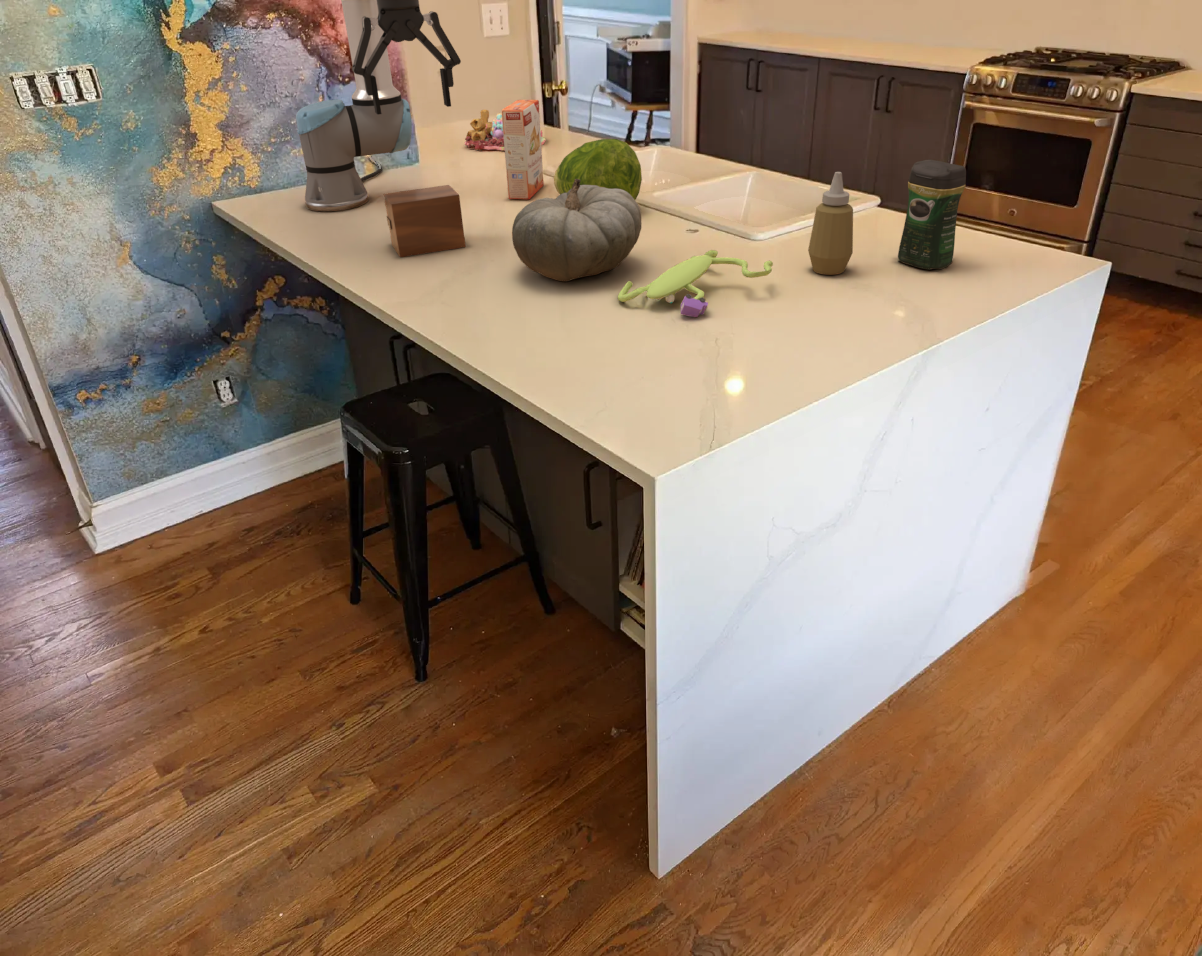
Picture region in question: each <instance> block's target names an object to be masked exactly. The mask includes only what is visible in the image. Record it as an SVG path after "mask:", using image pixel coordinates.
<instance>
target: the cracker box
mask: <svg viewBox="0 0 1202 956" xmlns="http://www.w3.org/2000/svg"><path fill="white" fill-rule="evenodd" d="M501 113H502V124H503V136H504V148H505V150H504V159H505V170H506V171H505V172H506V183H507V196H508V200H526V201H527V200H531V198H533V197H534V195H536V194H537V193H538V192H539V191H540V190H541V188H543V187H544V182H545V181H544V168H543V152H542V150H543V149H542V145H541V115H540V114H541V113H540V101H539V99H517V100H515V101H514V102H511V104H509V105H507V106H505V107H504V108H503V109H501Z"/></svg>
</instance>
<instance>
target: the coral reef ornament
mask: <svg viewBox="0 0 1202 956" xmlns="http://www.w3.org/2000/svg"><path fill="white" fill-rule="evenodd" d="M479 112H480V113H479V114H480V118H473V119H472V120H471V121H470V122H469V125H470V127H471V128H472V129H470V130H468V131H467V133H466V137H465V138H464V140H465V141H464V146H467V148H470V147H474V150H489V151H490V150H498V151H505V148H504V136H503V124H502V112H498V113H497V114H496V116H495V118H493V119H492V121H489V118H490V111H489V110H488V109H481V110H480V111H479ZM540 132H541V146H543V145H545V143H546V138H545V137H544V136H543V129H540Z"/></svg>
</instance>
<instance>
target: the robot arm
mask: <svg viewBox="0 0 1202 956" xmlns="http://www.w3.org/2000/svg"><path fill="white" fill-rule="evenodd" d="M340 1H341V7H342V12H343V18H344V24H345V29H346V35H347V41H348V47H349V53H350V58H351V64H352V68H351V70H352V72H353V75H354V81H355V82H354V83H355V86H356V89H355V90H354V92H353V93H352V94H351V103H352V104H349V105H345V103H344V101H343V100H342V99H337V98H336V99H327V100H322V101H318V102H314V103H311V104H308V105H306V106H303V107H301V108H299V110H298V111H297V112H296V114H295V121H296V127H297V130H296V132H297V135H298V137H299V140H300V146H301V151H302V156H303V160H304V165H305V170H306V183H305V193H304V202H305V207H306V208H307V209H308V210H310V211H313V212H338V211H339V212H341V211H345V210H350V209H351V210H352V209H354V208H358V207H361V206H364V205H366V204H367V203H368V202H369V200H370V199H369V192H368V190H367V189H366V187H365V185H364V182H365V181H367V180H369V179H371V178H374V177H376V176H378V175H379V174H381V173H382V171H383V167H382V166H381V169H378V168H379V166H377V170H375V171H374V172H371V173H369V174H366V175H364V176H362V177H361V176H360V175H359V173H358V170H357V169H356V163H355V158H357V157H358V158H359V157H366V156H367V155H371V156H372V155H381V154H382V155H383V154H393V153H397V152H402V151H406V150H407V149H408V148H410V145H411V142H412V133H413V126H412V125H413V124H412V123H413V121H412V113H411V107H410V103H409V101H408V100H407V99H405V98H402V93H401V91H399V90H398V89H397V88H396V87H395V86H394V85H393V78H392V71H391V64H390V57H389V52H388V46H389V45H390V44H391V42H394V43H401V42H405V41H406V42H413V41H414V40H415V39H416V40H418V41H419V43H421V44H422V45H423V47H424V48H425V49H426V50H427V51H428V52H429V53H430V54H431V55H432V56H433V57H434V58H435V59H436V60H437V61H438V63H440V64H441V65H442V67H443V68H439V73H440V74H439V75H440V82H441V90H442V98H443V105H444V106H446V107H448V108H449V107H452V101H451V100H452V99H451V92H450V88H453V87H454V85H455V84H454V75H453V69H454V67H456V66H458V65H460V64H461V62H462V61H461V58H460V56H459V54H458V53H457V51H456V50H455V48H454V46H453V44H452V43H451V41H450V39H449V38H448V36H447V34H446V32H445V31H444V29H443V27H442V26H441V22H440V17H439V14H438V12H436V11H434V10H431V11H429V12H427V13H422V11H421V8H420V1H419V0H340ZM424 22H426V24H427V25H428V26H431V28H432V30H433V31H434V33H435V35H436V37H437V38H438V40H439V42H440V43H441V45H442V47H443V48H444V50H445V52H446V54H447V55H448V57H449V59H447V57H446V56H445V55H444V54H443V53H442V52H441V51H440V50H439V49H438V48H437V47H436V46H435V45H434V43H432V42H431V40H430V39H429V37H427V36H426V35H425V34H424V33H423V31H421V28H422V26H423V24H424ZM367 157H368V156H367Z"/></svg>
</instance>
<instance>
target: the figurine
mask: <svg viewBox="0 0 1202 956" xmlns="http://www.w3.org/2000/svg"><path fill="white" fill-rule="evenodd" d="M718 254H719V253H718V250H713V249H711V250H708V251H706V252H705V253H704V254H703V255H701V254H700V255H693V256H691V257H689V258H688V259H686V260H683V261H681V262H679V263H677V264H676V265H674V266H671V267H670V268H669V269H667V270H665V271H664V272H663V273H661V274H660V275H659V276H658V277H657V278H655V279H654V280H653V281H651V282H650V283H648V284H647V285H645V286H641V287H638V288H636V289H634V290H632V291H631V288H632V287H633V282H632V281H630V280H628V281H627V282H626V283H625V285H623V287H622V289H621V290H620V291H619V293H618V295H617V299H618V301H619V302H621V303H626V302H628V301H631V300H634V299H635V298H637V297H639V296H640V295H642V294H644V293H645V292H646V295H645V296H646V297H647V298H648V299H650V300H656V301H661V300H662V299H663V298H665V302H667V303H669V304H673V303H674V301H675V297H676V293H678V292H680V291H682V290H683V289H686V290H687V292H690V293H692V294H694V295H695V294H696V296H694V297H692V294H690V293H686V295H684V297H683V300H682V301H681V303H680V304H679V305H680V315H682V316H686V317H687V316H688V317H693V318H698V317H699V316H700V315H704V314H705V311H706V310H707V308H708V306H709V302H708V301H706V298H705V291H703V290H702V289H700V288H698V287H697V286H694V285H693V283H694V282H696V281H697V280H698V279H700V278H701V277H702V276H703V275H705V273H706V272H707V271H708V270H709V268H710V266H711V265H733V266H734V265H736V266H740V267H741V274H742V276H743V277H745V278H750V279H753V278H761V277H766V276H768V275H770V274H771V273H772V270H773V268H772V267H773V266H774V262H773V261H772V260H767V261H764V262H763V269H764V270H763V271H751V270H748V267H749V263H748V262H747V260H745V259H742V258H737V257H726V256H725V257H723V256H722V257H717V256H718ZM629 291H630V292H629Z"/></svg>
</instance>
